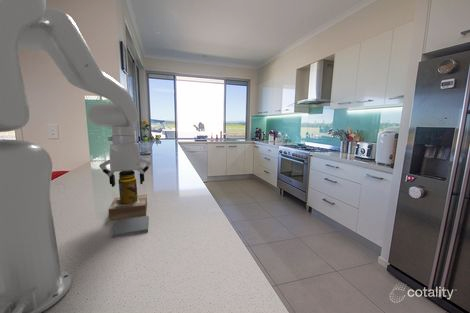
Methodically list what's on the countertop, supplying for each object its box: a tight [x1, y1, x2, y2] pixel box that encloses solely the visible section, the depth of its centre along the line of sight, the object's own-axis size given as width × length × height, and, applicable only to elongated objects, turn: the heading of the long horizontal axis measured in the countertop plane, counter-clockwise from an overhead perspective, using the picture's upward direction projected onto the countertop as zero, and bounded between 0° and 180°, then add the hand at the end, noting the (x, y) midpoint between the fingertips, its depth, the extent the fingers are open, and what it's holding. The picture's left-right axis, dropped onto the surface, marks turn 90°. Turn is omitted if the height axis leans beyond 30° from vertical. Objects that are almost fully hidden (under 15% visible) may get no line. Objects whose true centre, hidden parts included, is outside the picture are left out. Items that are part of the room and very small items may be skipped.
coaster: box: [111, 215, 150, 238], centre depth 70 cm, size 10×10×1 cm
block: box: [108, 194, 148, 221], centre depth 82 cm, size 12×12×4 cm
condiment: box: [112, 170, 140, 207], centre depth 80 cm, size 7×8×12 cm
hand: (127, 184), depth 80 cm, fingers open, 9 cm apart
